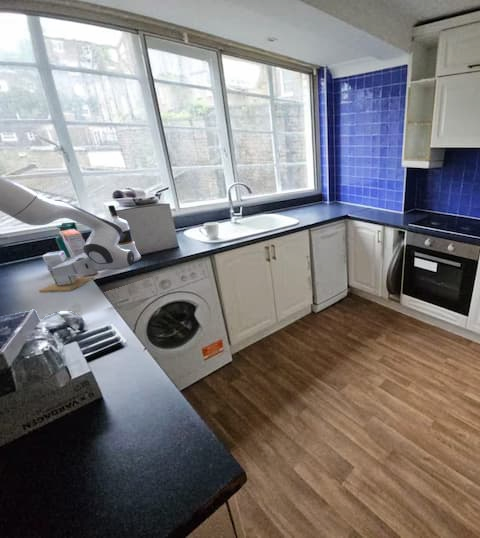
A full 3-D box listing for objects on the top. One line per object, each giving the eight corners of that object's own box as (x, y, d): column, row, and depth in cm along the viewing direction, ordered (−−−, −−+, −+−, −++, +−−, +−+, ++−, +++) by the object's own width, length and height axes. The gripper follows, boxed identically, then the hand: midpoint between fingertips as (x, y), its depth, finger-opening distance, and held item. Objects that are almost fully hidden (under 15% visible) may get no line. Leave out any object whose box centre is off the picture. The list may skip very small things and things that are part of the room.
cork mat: (70, 291, 127) (69, 289, 126) (39, 292, 127) (38, 290, 126) (94, 278, 139) (93, 276, 138) (66, 279, 139) (65, 277, 138)
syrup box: (77, 279, 136) (63, 249, 130) (73, 284, 131) (59, 253, 125) (61, 282, 134) (46, 252, 128) (56, 287, 129) (41, 256, 123)
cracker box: (76, 271, 148) (58, 231, 139) (91, 267, 152) (74, 228, 144) (83, 277, 140) (64, 235, 131) (99, 273, 144) (81, 232, 136)
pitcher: (87, 266, 153) (69, 225, 144) (67, 269, 150) (47, 227, 141) (95, 260, 161) (78, 221, 153) (76, 263, 159) (58, 223, 150)
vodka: (145, 257, 163) (126, 203, 151) (132, 264, 154) (111, 207, 142) (130, 257, 164) (110, 203, 152) (116, 264, 155) (94, 207, 143)
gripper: (104, 247, 139) (71, 249, 137) (73, 263, 120) (35, 266, 118) (109, 259, 141) (77, 262, 139) (80, 277, 123) (42, 280, 121)
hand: (57, 264), depth 129 cm, fingers open, 8 cm apart
